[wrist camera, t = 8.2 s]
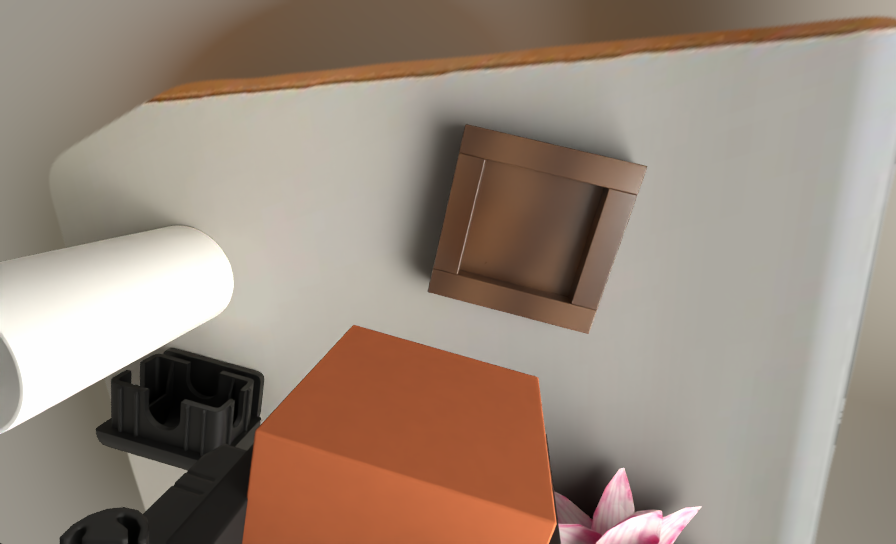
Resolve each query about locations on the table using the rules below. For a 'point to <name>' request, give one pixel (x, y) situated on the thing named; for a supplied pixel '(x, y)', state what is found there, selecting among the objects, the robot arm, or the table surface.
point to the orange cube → (402, 452)
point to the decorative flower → (618, 519)
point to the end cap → (183, 408)
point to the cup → (100, 311)
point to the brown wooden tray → (533, 227)
